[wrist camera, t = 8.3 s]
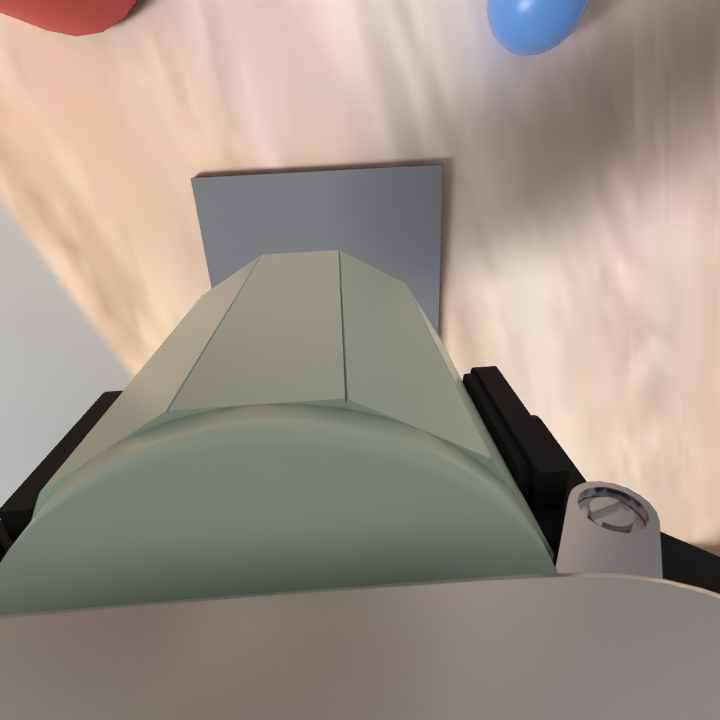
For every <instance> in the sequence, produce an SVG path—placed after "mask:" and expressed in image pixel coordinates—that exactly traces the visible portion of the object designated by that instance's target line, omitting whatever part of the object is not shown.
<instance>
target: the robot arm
mask: <svg viewBox="0 0 720 720" xmlns="http://www.w3.org/2000/svg"><path fill="white" fill-rule="evenodd" d="M463 383H464V385H465V387H466V389H467V391H468V393H469V395H470V397H471V399H472V401H473V402H474V404H475V406H476V408H477V410H478V412H479V414H480V416H481V418H482V419H483V421H484V423H485V425H486V427H487V429H488V431H489V433H490V435H491V437H492V438H493V440H494V442H495V444H496V446H497V448H498V450H499V452H500V454H501V456H502V457H503V459H504V461H505V463H506V465H507V467H508V469H509V471H510V473H511V474H512V476H513V478H514V480H515V482H516V484H517V486H518V488H519V490H520V491H521V493H522V495H523V496H524V498H525V500H526V502H527V504H528V506H529V508H530V510H531V512H532V513H533V515H534V517H535V519H536V521H537V523H538V525H539V527H540V529H541V530H542V532H543V534H544V536H545V538H546V540H547V542H548V544H549V546H550V547H551V549H552V551H553V554H554V557H553V564H554V566H555V568H556V570H557V571H558V573H551V574H522V575H509V576H495V577H478V578H462V579H448V580H434V581H420V582H407V583H393V584H379V585H365V586H351V587H337V588H324V589H311V590H298V591H285V592H272V593H259V594H247V595H234V596H221V597H209V598H196V599H183V600H171V601H159V602H147V603H135V604H123V605H112V606H100V607H88V608H76V609H64V610H52V611H40V612H29V613H18V614H6V615H0V720H720V557H718V556H716V555H714V554H711V553H709V552H707V551H704V550H702V549H700V548H697V547H695V546H693V545H690V544H688V543H686V542H683V541H681V540H679V539H676V538H674V537H672V536H669V535H667V534H665V533H662V532H660V521H659V518H658V515H657V512H656V511H655V509H654V508H653V507H652V505H651V504H650V503H649V502H648V501H647V500H645V499H644V498H643V497H642V496H640V495H639V494H637V493H635V492H633V491H632V490H630V489H628V488H625V487H622V486H620V485H617V484H613V483H607V482H602V481H597V482H586V480H585V479H584V477H583V476H582V475H581V473H580V472H579V471H578V469H577V468H576V467H575V465H574V464H573V462H572V461H571V460H570V458H569V457H568V456H567V454H566V453H565V452H564V450H563V449H562V447H561V446H560V445H559V443H558V442H557V441H556V439H555V438H554V437H553V435H552V434H551V432H550V431H549V430H548V428H547V427H546V426H545V424H544V423H543V421H542V420H541V419H540V418H539V417H538V416H535V415H530V413H529V412H528V411H527V409H526V408H525V406H524V405H523V403H522V402H521V401H520V399H519V398H518V396H517V395H516V394H515V392H514V391H513V389H512V388H511V386H510V385H509V384H508V382H507V381H506V379H505V378H504V377H503V375H502V374H501V372H500V371H499V369H498V368H497V367H496V366H490V367H474V368H472V369H471V372H470V374H464V376H463ZM122 392H123V391H111V392H105V393H103V394H102V395H101V396H100V397H99V399H98V400H97V401H96V402H95V403H94V404H93V405H92V406H91V407H90V409H89V410H88V411H87V412H86V413H85V414H84V415H83V416H82V418H81V419H80V420H79V421H78V422H77V423H76V424H75V426H73V428H72V429H71V430H70V431H69V432H68V433H67V434H66V436H65V437H64V438H63V439H62V440H61V441H60V442H59V443H58V445H56V447H55V448H54V449H53V450H52V451H51V452H50V453H49V455H47V457H46V458H45V459H44V460H43V461H42V462H41V463H40V464H39V466H38V467H37V468H36V469H35V470H34V471H33V472H32V473H31V474H30V476H29V477H28V478H27V479H26V480H25V481H24V482H23V483H22V485H21V486H20V487H19V488H18V489H17V490H16V491H15V493H13V495H12V496H11V497H10V498H9V499H8V500H7V501H6V502H5V504H4V505H3V506H2V507H1V508H0V519H1V520H0V562H1V561H2V559H3V558H4V556H5V555H6V553H7V552H8V550H9V549H10V548H11V546H12V545H13V544H14V542H15V541H16V540H17V539H18V537H19V536H20V535H21V534H22V532H23V531H24V530H25V528H26V527H27V526H28V525H29V523H30V522H31V520H32V517H33V513H34V510H35V506H36V503H37V499H38V496H39V493H40V491H41V490H42V489H43V488H44V486H45V485H46V484H47V483H48V482H49V480H50V479H51V478H52V477H53V476H54V474H55V473H56V472H57V471H58V469H59V468H60V467H61V466H62V465H63V463H64V462H65V461H66V460H67V459H68V457H69V456H70V455H71V454H72V453H73V451H74V450H75V449H76V448H77V446H78V445H79V444H80V443H81V442H82V440H83V439H84V438H85V437H86V436H87V434H88V433H89V432H90V431H91V430H92V428H93V427H94V426H95V425H96V424H97V422H98V421H99V420H100V419H101V417H102V416H103V415H104V414H105V413H106V411H107V410H108V409H109V408H110V407H111V405H112V404H113V403H114V402H115V401H116V399H117V398H118V397H119V396H120V394H121V393H122Z"/></svg>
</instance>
